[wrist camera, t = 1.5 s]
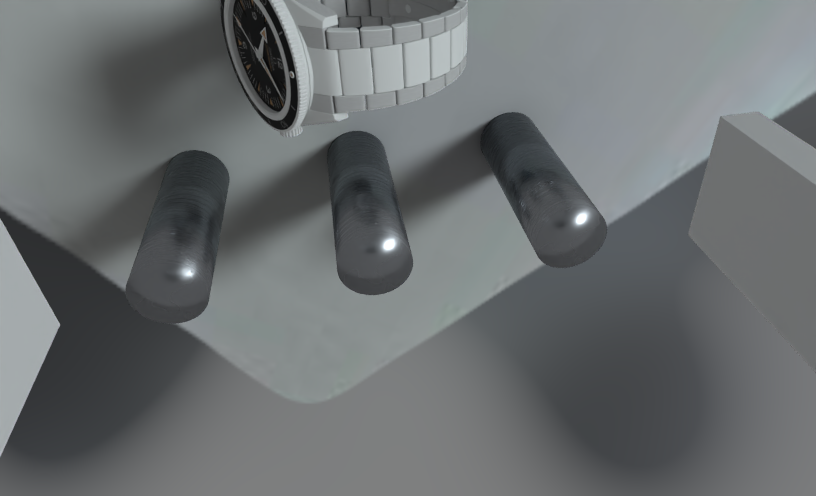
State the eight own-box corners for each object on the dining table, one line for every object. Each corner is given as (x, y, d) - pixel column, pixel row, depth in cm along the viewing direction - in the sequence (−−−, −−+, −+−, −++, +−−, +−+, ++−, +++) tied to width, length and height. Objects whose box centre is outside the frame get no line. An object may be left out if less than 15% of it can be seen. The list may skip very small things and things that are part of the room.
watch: (224, -87, 23) (182, -21, 15) (426, -101, 24) (500, -45, 15) (252, 55, 27) (232, 176, 18) (428, 39, 28) (490, 149, 19)
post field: (-11, -330, 19) (-200, -411, 11) (576, -360, 20) (728, -446, 13) (176, 206, 31) (140, 328, 24) (533, 160, 32) (601, 262, 25)
